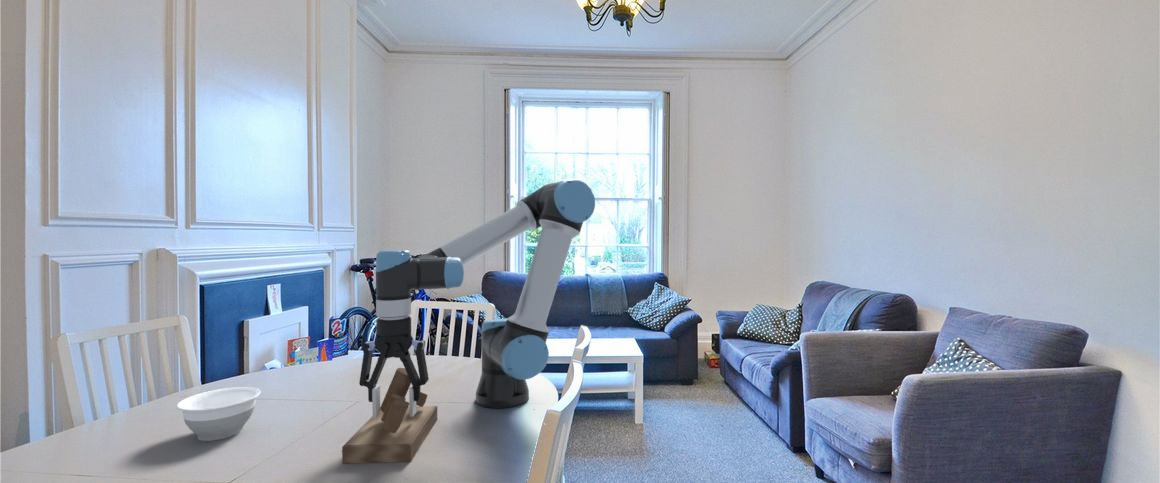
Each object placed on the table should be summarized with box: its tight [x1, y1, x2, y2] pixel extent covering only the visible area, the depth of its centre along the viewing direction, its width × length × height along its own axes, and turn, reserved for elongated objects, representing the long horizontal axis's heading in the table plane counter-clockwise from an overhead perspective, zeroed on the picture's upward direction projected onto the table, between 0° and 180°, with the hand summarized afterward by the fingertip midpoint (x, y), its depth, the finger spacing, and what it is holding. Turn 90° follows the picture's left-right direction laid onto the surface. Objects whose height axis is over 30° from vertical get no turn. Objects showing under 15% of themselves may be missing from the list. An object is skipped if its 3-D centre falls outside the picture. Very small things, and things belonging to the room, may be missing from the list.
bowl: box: [176, 386, 262, 442], centre depth 112 cm, size 16×16×9 cm
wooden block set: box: [380, 367, 428, 433], centre depth 108 cm, size 18×9×10 cm, turn 4°
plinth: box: [341, 405, 438, 464], centre depth 108 cm, size 14×22×4 cm, turn 3°
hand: (394, 414), depth 108 cm, fingers closed on wooden block set, 8 cm apart
